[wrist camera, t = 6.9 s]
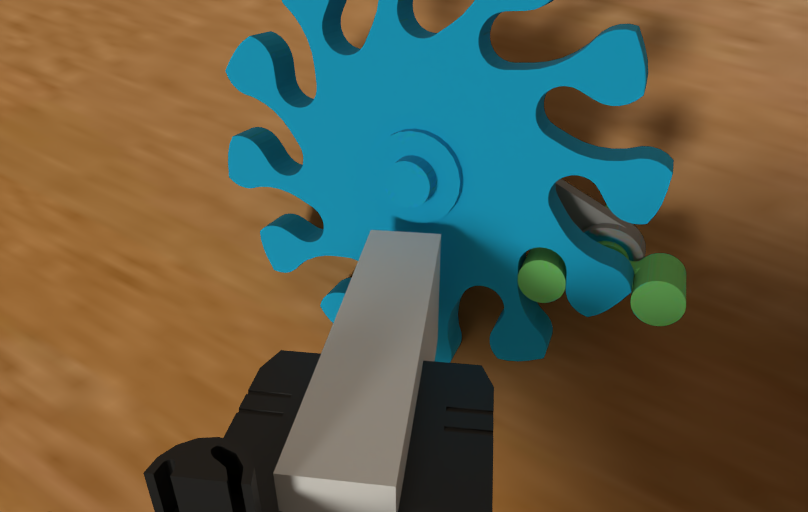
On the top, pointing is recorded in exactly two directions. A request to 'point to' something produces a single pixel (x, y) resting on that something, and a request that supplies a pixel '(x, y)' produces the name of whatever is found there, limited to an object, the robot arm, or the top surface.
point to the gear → (460, 166)
